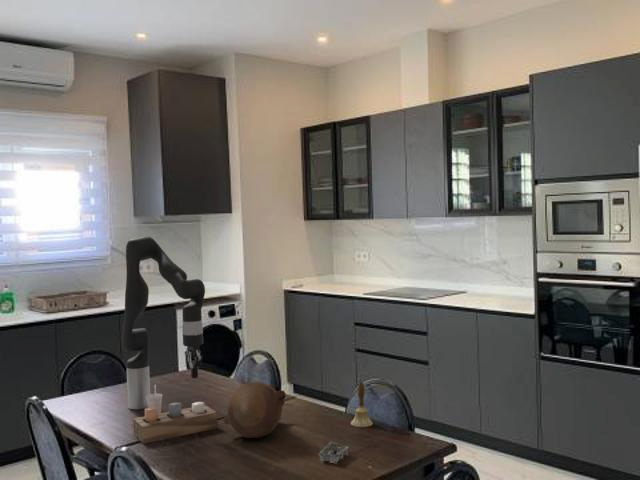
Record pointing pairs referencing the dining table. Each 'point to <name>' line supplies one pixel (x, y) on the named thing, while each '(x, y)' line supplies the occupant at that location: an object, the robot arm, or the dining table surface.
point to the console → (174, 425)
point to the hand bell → (361, 410)
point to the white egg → (198, 407)
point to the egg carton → (329, 454)
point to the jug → (255, 409)
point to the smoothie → (154, 400)
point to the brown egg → (151, 414)
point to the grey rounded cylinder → (175, 410)
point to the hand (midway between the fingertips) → (194, 377)
